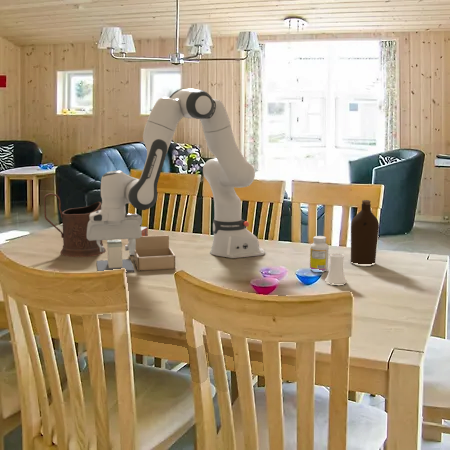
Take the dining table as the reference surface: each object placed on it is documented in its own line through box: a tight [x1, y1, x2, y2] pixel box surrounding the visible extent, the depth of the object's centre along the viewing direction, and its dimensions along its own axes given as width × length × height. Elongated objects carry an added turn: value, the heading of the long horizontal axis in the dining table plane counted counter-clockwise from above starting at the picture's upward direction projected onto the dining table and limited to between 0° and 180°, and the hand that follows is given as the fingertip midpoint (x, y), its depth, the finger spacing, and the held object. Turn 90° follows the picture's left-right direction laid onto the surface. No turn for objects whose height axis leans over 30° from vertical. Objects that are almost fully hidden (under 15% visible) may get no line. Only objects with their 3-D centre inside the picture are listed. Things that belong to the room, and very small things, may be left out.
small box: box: [128, 226, 149, 256], centre depth 250 cm, size 8×6×10 cm
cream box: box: [106, 239, 123, 268], centre depth 228 cm, size 5×7×9 cm
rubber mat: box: [96, 258, 135, 273], centre depth 229 cm, size 13×16×1 cm
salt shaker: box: [324, 253, 348, 284], centre depth 211 cm, size 8×8×10 cm
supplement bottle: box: [309, 235, 329, 272], centre depth 226 cm, size 7×7×13 cm
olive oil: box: [350, 199, 380, 264], centre depth 236 cm, size 11×11×25 cm
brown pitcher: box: [43, 193, 107, 258], centre depth 249 cm, size 18×24×25 cm
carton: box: [134, 235, 176, 272], centre depth 232 cm, size 14×13×10 cm
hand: (114, 250), depth 228 cm, fingers open, 8 cm apart
